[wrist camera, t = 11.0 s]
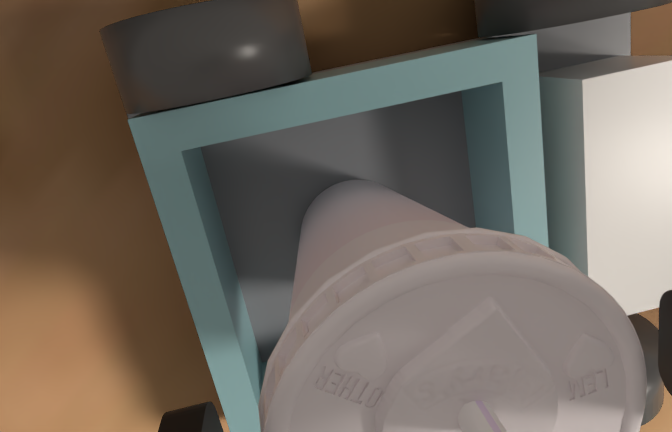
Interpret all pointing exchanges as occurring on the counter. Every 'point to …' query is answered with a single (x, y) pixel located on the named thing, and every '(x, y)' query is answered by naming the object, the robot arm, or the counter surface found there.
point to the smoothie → (443, 329)
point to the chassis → (395, 153)
